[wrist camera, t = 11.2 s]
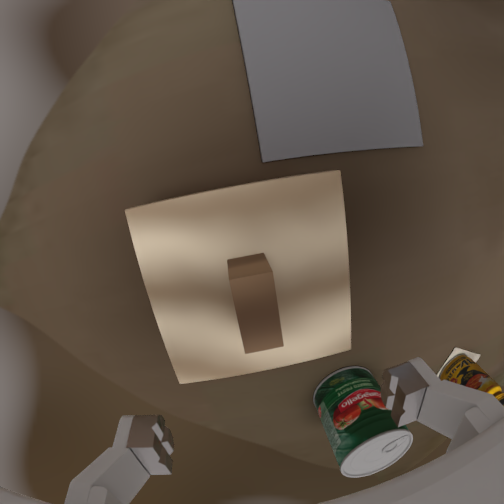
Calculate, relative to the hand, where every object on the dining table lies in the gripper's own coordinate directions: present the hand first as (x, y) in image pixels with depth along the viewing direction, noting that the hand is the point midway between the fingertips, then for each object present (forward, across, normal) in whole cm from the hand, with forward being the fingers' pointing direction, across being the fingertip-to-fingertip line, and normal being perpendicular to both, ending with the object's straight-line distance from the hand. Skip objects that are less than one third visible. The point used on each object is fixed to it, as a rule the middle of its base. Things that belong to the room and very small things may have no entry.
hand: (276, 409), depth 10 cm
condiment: (+18, -28, +24) cm, 42 cm away
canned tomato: (+18, -9, +20) cm, 28 cm away
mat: (+18, -11, -15) cm, 26 cm away
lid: (+12, 0, +1) cm, 12 cm away
